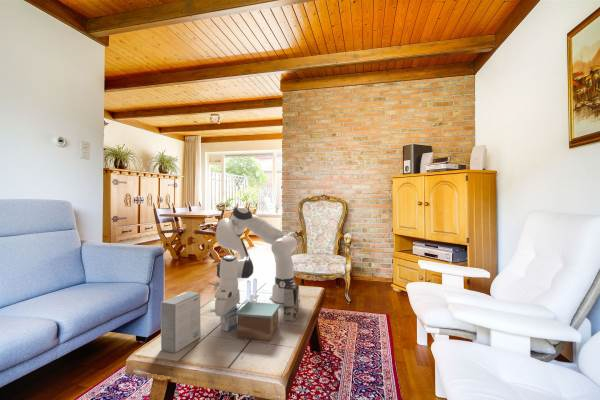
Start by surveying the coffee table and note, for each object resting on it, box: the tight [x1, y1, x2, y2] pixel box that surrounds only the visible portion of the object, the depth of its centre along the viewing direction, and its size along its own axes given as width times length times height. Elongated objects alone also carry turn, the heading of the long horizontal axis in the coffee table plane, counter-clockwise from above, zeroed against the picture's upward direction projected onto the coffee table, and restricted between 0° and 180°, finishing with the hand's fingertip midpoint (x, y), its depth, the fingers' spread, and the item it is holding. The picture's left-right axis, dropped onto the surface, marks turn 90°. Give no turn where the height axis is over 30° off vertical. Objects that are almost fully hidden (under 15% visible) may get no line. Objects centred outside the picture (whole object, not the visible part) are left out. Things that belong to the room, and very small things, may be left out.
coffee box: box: [283, 284, 300, 322], centre depth 154 cm, size 9×6×16 cm
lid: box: [236, 301, 281, 319], centre depth 135 cm, size 16×16×1 cm
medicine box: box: [220, 306, 238, 332], centre depth 141 cm, size 8×4×9 cm, turn 160°
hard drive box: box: [160, 290, 202, 354], centre depth 125 cm, size 16×8×20 cm, turn 159°
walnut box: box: [236, 310, 279, 343], centre depth 135 cm, size 14×15×10 cm
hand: (228, 318), depth 141 cm, fingers closed on medicine box, 8 cm apart
